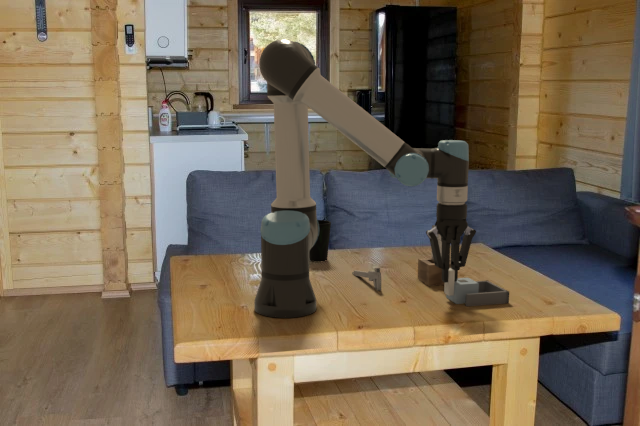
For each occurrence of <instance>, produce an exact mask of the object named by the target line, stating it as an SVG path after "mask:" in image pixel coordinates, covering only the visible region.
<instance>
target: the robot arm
mask: <svg viewBox="0 0 640 426" xmlns="http://www.w3.org/2000/svg"><path fill="white" fill-rule="evenodd" d="M259 71H260V73H261V77H262V78H263V80H265V82H266V91H267V93H266V94H267V98H268V99H269V101H271V102H272V104H273V122H274V125H273V127H274V152H275V155H274V156H275V157H274V158H275V181H276V182H275V184H276V185H275V186H276V190H275V191H276V198H275V199H274V200H273V201H272V202H271V203H270V207H271V208H270V209H271V210H270V211H271V212H269V213H267V214H265V215H264V216H263V217H262V220H261V224H260V230H259V232H260V246H261V247H260V252H261V253H260V254H261V255H260V257H261V258H260V259H261V261H260V262H261V270H260V271H261V277H260V278H261V279H260V282H259V285H258V288H257V292H256V295H255V297H254V306H253V307H254V311H255V313H257V314H259V315H262V316H266V317H268V318H269V317H271V318H280V319H288V318H290V319H291V318H299V317H305V316H308V315H312V314H313V313H315V312H316V311H317V297H316V295H315V291H314V289H313V285H312V282H311V279H310V259H309V251H310V249H311V248H312V247H313V246H314V245H315V243H316V241H317V239H318V236H319V224H318V220H319V219H318V218H317V203H316V201H315V200H314V199H313V198H312V197H311V187H310V186H311V182H310V181H311V180H310V178H311V177H310V175H311V174H310V145H309V143H310V141H309V140H310V139H309V138H310V137H309V109H310V110H312V111H313V112H315V113H316V115H318V116H319V117H320V118H322V119H323V120H325V121H326V123H328V124H329V125H331V126H332V127H333V128H335V129H336V131H338V132H340V134H342V135H343V136H344V137H346V138H347V139H348V140H349V141H351V142H352V143H353V144H354V145H356V146H357V147H358V148H359V149H361V150H362V151H364V152H365V153H366V154H367V155H368V156H370V157H371V158H372V159H374V160H375V161H376V162H378V164H380V165H381V166H383V167H384V168H385V169H386V170H387V171H388V173H389V176H390V177H391V178H393V179H394V178H395V179H397V181H398V182H399V183H401V184H402V185H404V186H406V187H416V186H420V184H422V183H423V182H425V180H427V179H431V180H432V179H433V180H434V179H437V182H436V201H437V203H436V211H435V212H436V221H435V223H434V225H435V227H434V228H432V227H431V229H427V230H426V231H425V234H426V236H427V237H428V239H429V242H430V243H429V244H430V248H431V255H432V254H433V259H434V263H435V266H437V267H439V268H441V269H442V281H443V282H445V284H444V285H443V286H444V289H443V290H444V292H443V293H444V294H445V295H446V294H447V295H448V296H452V295H454V282H457V280H458V278H459V275H458V274H459V271H460V269H461V268H463V267H465V266H466V264H467V260H468V257H469V252H470V249H471V244H472V240H473V238H474V236H475V235H476V233H477V230H476V229H473V228H472V227H470V226H469V223H468V221H467V216H468V205H467V203H466V202H467V201H468V190H469V186H468V184H469V182H468V181H469V168H470V167H469V165H470V164H469V163H470V159H469V157H470V156H469V153H470V150H469V144H468V143H467V141H465V140H458V139H457V140H455V139H454V140H453V139H449V140H448V139H445V140H443V139H442V140H440V141H439V142H438V143H437V145H438V146H437V147H434V148H423V147H421V148H416V147H412V146H411V145H409V144H408V143H406V142H405V141H404V140H403V139H401V138H400V137H399V136H397V135H396V134H395V133H394V132H392V131H391V130H390V129H389V128H388V127H386V126H385V125H384V124H383V123H382V122H380V121H379V120H378V119H376V118H375V117H374V116H373V115H371V114H370V113H369V112H368V111H366V110H365V109H364V108H363V107H362V106H360V105H359V104H358V103H356V102H355V101H354V100H353V99H351V98H350V97H349V96H348V95H346V93H344V92H343V91H341V90H340V89H339V88H338V87H336V86H335V85H334V84H333V83H331V82H330V81H329V80H328V79H326V78H325V77H323V75H321V69H320V68H319V67H318V66H317V65H316V60H315V59H314V55H313V54H312V52H311V50H310V49H309V48H308V47H306V46H305V45H304V44H303V43H300V42H297V41H293V40H291V39H284V38H283V39H281V38H280V39H276V40H274V41H271V42H270V43H269V44H267V45H266V46H265V47H264V49H262V51H261V54H260V57H259ZM437 231H438V233H439V234H440V236H441V242H442V253H440V248H439V243H438V239H437ZM463 234H464V235H463ZM462 236H463V237H462ZM461 237H462V239H461ZM461 241H462V242H461ZM460 244H461V246H460ZM450 261H451V263H450ZM450 266H451V268H449V267H450Z"/></svg>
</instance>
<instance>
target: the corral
mask: <svg viewBox="0 0 640 426" xmlns="http://www.w3.org/2000/svg"><path fill="white" fill-rule="evenodd" d="M475 281H476V282H477V283H479V291H478V293H471V294H466V303H464V304H465V307H474V306H475V307H476V306H489V305H500V304H502V305H503V304H504V305H505V304H509V303H510V291H509V290H508V289H505V288H504V287H501V286H500V285H498V284H495V283H493V282H491V281H489V280H488V279H487V280H475Z"/></svg>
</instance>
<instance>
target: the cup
mask: <svg viewBox="0 0 640 426" xmlns="http://www.w3.org/2000/svg"><path fill="white" fill-rule="evenodd" d="M317 220H318V224H319V236H318V239H317V241H316V243H315V245H314V246H313V247H312V248H311V249H310V251H309V261H310V260H311V262H314V261H316V262H319V263H320V262H321V261H323V262H326V261H325V260H328V255H329V254H328V253H329V248H330V247H329V246H330V235H331V226H332V222H331V221H329V220H324V219H317Z"/></svg>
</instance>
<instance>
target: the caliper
mask: <svg viewBox="0 0 640 426" xmlns="http://www.w3.org/2000/svg"><path fill="white" fill-rule="evenodd" d="M352 274H353V275H354V276H356V277H362V278H368V282H373V287H374V290H375V291H377V292H380V291H382V273H381V268H380V267H374V270H368V271H363V270H357V269H355V270H353V271H352Z"/></svg>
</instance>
